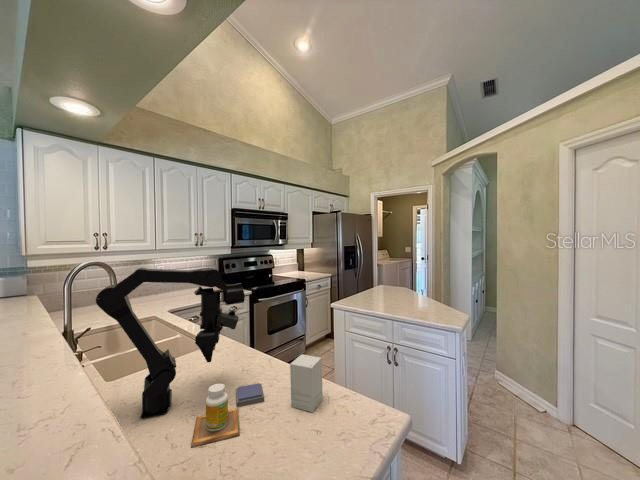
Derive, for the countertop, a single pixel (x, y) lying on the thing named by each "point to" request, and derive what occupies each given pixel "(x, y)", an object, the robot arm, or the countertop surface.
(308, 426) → the countertop surface
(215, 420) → the supplement bottle
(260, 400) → the ink pad
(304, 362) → the supplement box
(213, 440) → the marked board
